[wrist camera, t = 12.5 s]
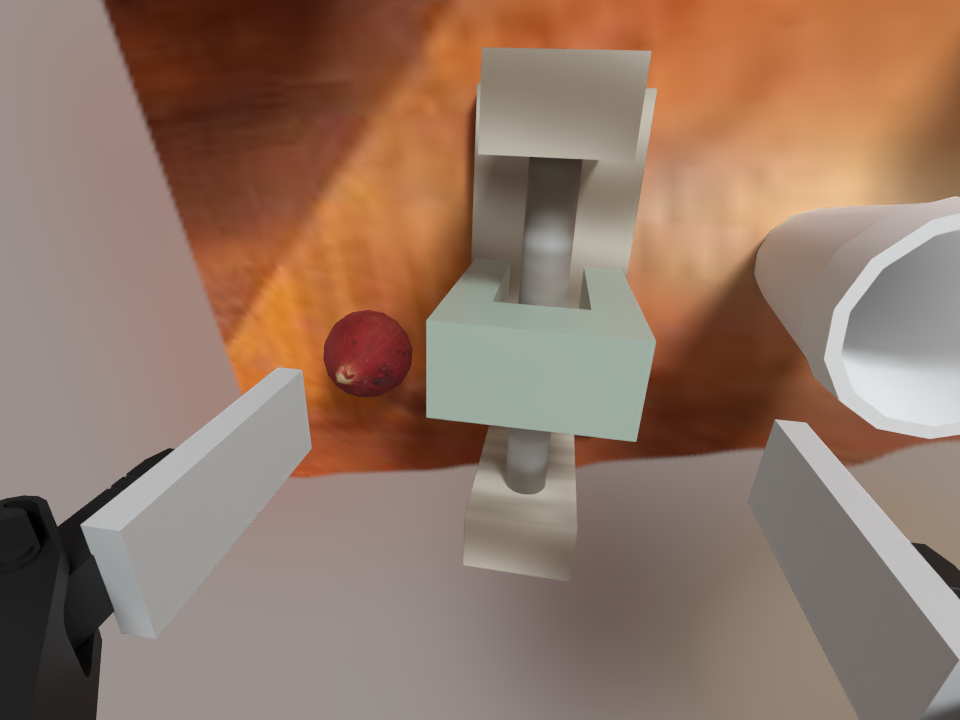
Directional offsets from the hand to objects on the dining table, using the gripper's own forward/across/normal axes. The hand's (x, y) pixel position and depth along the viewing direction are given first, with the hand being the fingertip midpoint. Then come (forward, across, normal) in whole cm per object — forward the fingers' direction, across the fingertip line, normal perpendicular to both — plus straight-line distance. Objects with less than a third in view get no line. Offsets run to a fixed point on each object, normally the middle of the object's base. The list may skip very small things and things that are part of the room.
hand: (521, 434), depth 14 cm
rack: (+21, 0, 0) cm, 21 cm away
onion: (+21, -11, -6) cm, 25 cm away
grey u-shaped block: (+15, 0, 0) cm, 15 cm away
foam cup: (+21, +16, +2) cm, 27 cm away
